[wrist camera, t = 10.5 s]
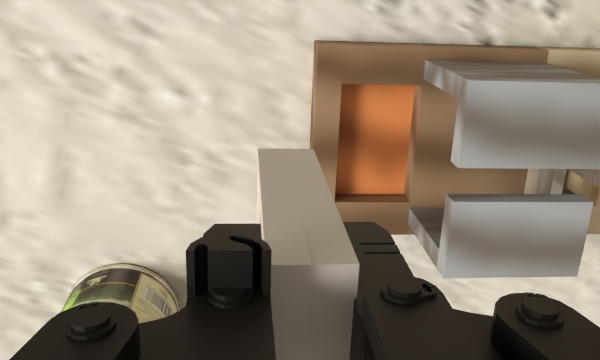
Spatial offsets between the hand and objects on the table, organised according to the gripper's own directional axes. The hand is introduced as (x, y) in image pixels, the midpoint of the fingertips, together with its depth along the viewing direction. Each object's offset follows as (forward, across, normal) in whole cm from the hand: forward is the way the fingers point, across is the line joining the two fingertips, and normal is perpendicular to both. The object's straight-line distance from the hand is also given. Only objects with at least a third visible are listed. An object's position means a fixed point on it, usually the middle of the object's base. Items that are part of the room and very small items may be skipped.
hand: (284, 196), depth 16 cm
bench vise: (+32, +18, -7) cm, 38 cm away
